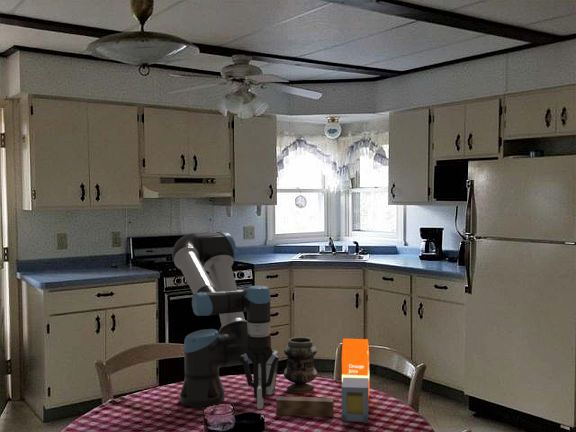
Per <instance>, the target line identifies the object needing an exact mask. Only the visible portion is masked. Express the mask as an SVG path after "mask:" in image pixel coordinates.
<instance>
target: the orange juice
mask: <svg viewBox="0 0 576 432" xmlns="http://www.w3.org/2000/svg"><path fill="white" fill-rule="evenodd" d="M341 348H342V351H341V383H342V382H343V378H368V398H369V397H370V350H369V349H370V347H369V339H367V338H366V339H364V338H343V339H342V347H341Z"/></svg>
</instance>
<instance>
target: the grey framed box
mask: <svg viewBox="0 0 576 432" xmlns="http://www.w3.org/2000/svg"><path fill="white" fill-rule="evenodd" d="M348 392H360V393H363V413H347V393H348ZM369 401H370V400H369V398H368V378H343V382H342V381H341V421H342V422H359V423H360V422H364V423H368V422H369V412H370V411H369V410H370V409H369V408H370V407H369V406H370V405H369Z"/></svg>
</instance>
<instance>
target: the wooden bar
mask: <svg viewBox="0 0 576 432" xmlns="http://www.w3.org/2000/svg"><path fill="white" fill-rule="evenodd" d="M334 400H335V399H334V397H310V396H309V397H307V396H306V397H304V396H277V398H276V400H275V401H276V402H275V406H276V407H275V411H276V414H275V415H276V416H296V417H297V416H298V417H299V416H300V417H301V416H303V417H330V418H331V417H334V414H335V413H334V410H335V407H334V406H335V404H334V402H335V401H334Z"/></svg>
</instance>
